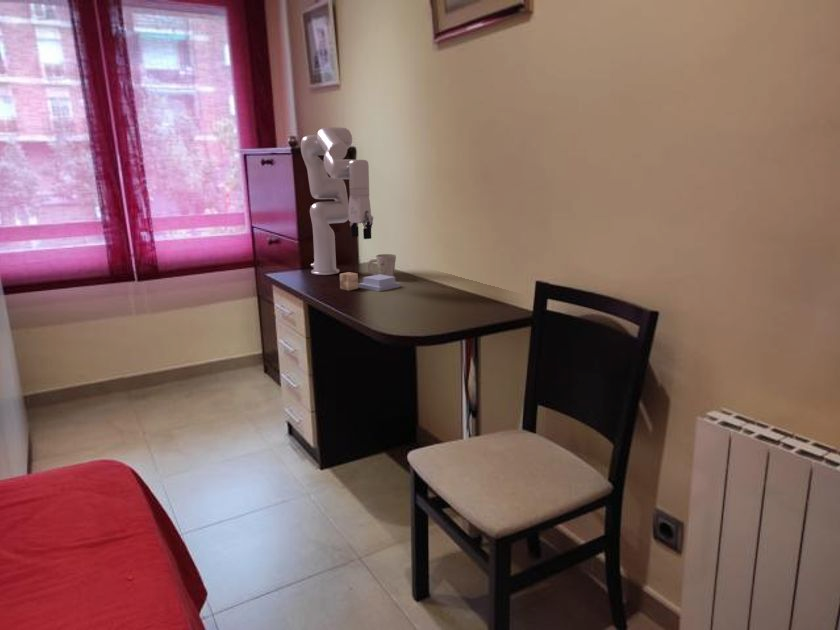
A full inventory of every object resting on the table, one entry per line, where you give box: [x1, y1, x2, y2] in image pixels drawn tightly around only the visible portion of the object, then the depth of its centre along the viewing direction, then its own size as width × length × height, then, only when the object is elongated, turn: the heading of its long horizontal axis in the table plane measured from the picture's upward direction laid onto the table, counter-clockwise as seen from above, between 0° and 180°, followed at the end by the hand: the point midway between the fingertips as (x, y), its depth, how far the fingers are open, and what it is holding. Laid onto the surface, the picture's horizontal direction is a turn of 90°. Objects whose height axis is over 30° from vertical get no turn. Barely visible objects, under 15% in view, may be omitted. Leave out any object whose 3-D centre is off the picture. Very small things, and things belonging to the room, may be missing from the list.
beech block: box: [339, 271, 359, 291], centre depth 233 cm, size 5×5×6 cm
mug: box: [366, 253, 397, 277], centre depth 253 cm, size 8×13×10 cm, turn 89°
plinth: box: [358, 274, 402, 292], centre depth 236 cm, size 12×12×4 cm
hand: (360, 237), depth 230 cm, fingers open, 9 cm apart
